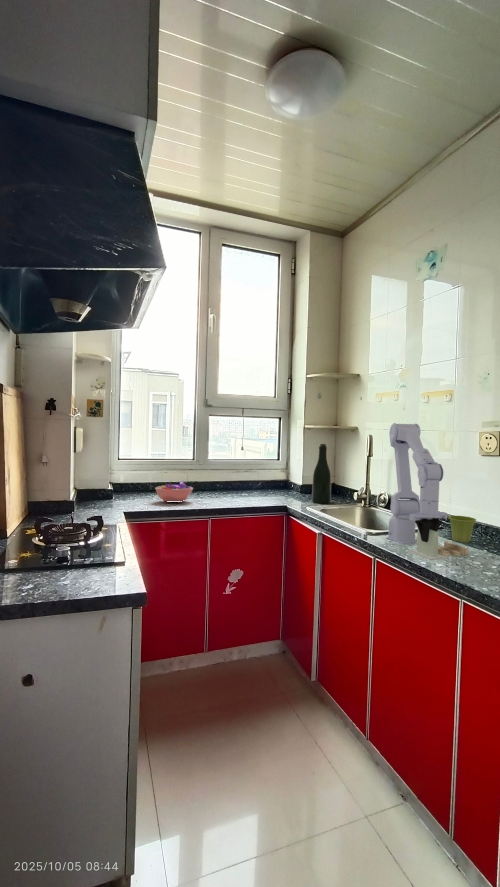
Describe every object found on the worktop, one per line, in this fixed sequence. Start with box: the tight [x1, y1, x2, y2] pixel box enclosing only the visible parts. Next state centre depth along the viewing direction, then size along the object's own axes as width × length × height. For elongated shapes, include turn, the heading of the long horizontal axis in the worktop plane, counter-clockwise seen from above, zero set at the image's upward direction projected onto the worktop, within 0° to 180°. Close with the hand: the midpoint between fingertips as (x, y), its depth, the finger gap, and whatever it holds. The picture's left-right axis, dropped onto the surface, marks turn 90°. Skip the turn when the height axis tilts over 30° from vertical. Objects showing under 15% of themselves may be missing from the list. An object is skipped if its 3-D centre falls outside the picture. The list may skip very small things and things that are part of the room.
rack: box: [438, 541, 469, 557], centre depth 145 cm, size 9×5×2 cm, turn 22°
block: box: [416, 528, 440, 557], centre depth 141 cm, size 7×2×8 cm, turn 22°
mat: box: [408, 549, 447, 561], centre depth 141 cm, size 9×7×1 cm
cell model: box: [154, 481, 194, 502], centre depth 227 cm, size 17×20×11 cm
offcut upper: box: [438, 547, 450, 556], centre depth 143 cm, size 5×3×1 cm, turn 17°
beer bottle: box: [311, 443, 332, 505], centre depth 238 cm, size 10×10×33 cm
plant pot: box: [448, 515, 477, 543], centre depth 161 cm, size 9×9×9 cm
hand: (427, 541), depth 140 cm, fingers closed on block, 2 cm apart
